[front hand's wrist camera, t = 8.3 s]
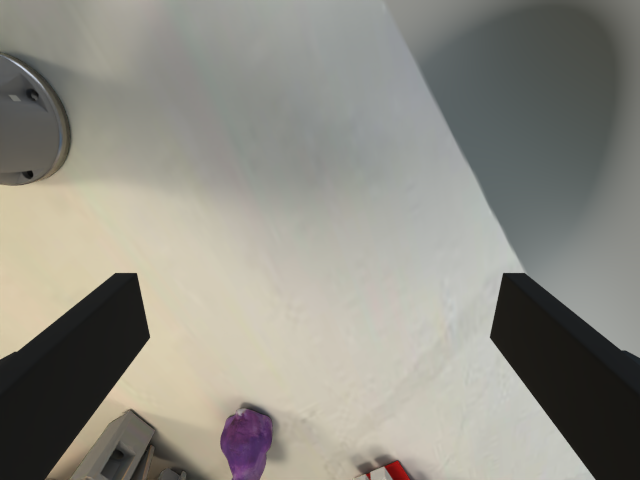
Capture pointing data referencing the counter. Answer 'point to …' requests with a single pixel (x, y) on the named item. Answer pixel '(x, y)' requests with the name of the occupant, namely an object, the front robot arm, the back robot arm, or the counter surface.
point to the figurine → (246, 443)
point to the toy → (386, 473)
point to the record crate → (122, 453)
